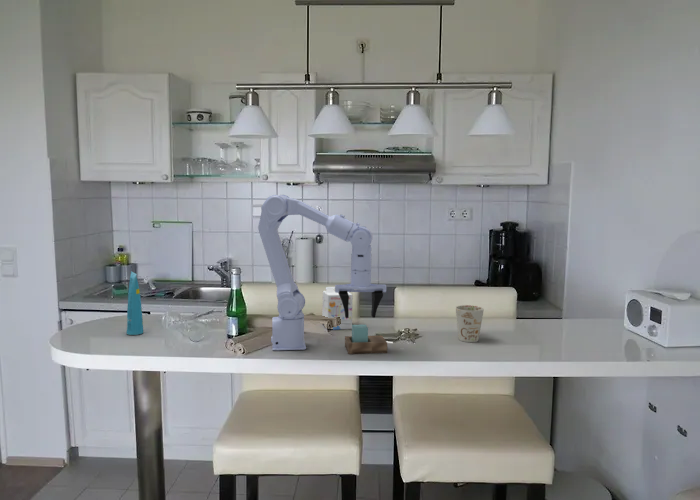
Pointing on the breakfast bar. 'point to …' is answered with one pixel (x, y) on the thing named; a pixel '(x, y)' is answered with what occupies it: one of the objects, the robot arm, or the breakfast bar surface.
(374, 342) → the walnut base
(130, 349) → the breakfast bar surface
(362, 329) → the teal block
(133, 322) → the tube
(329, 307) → the ink box
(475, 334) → the mug
